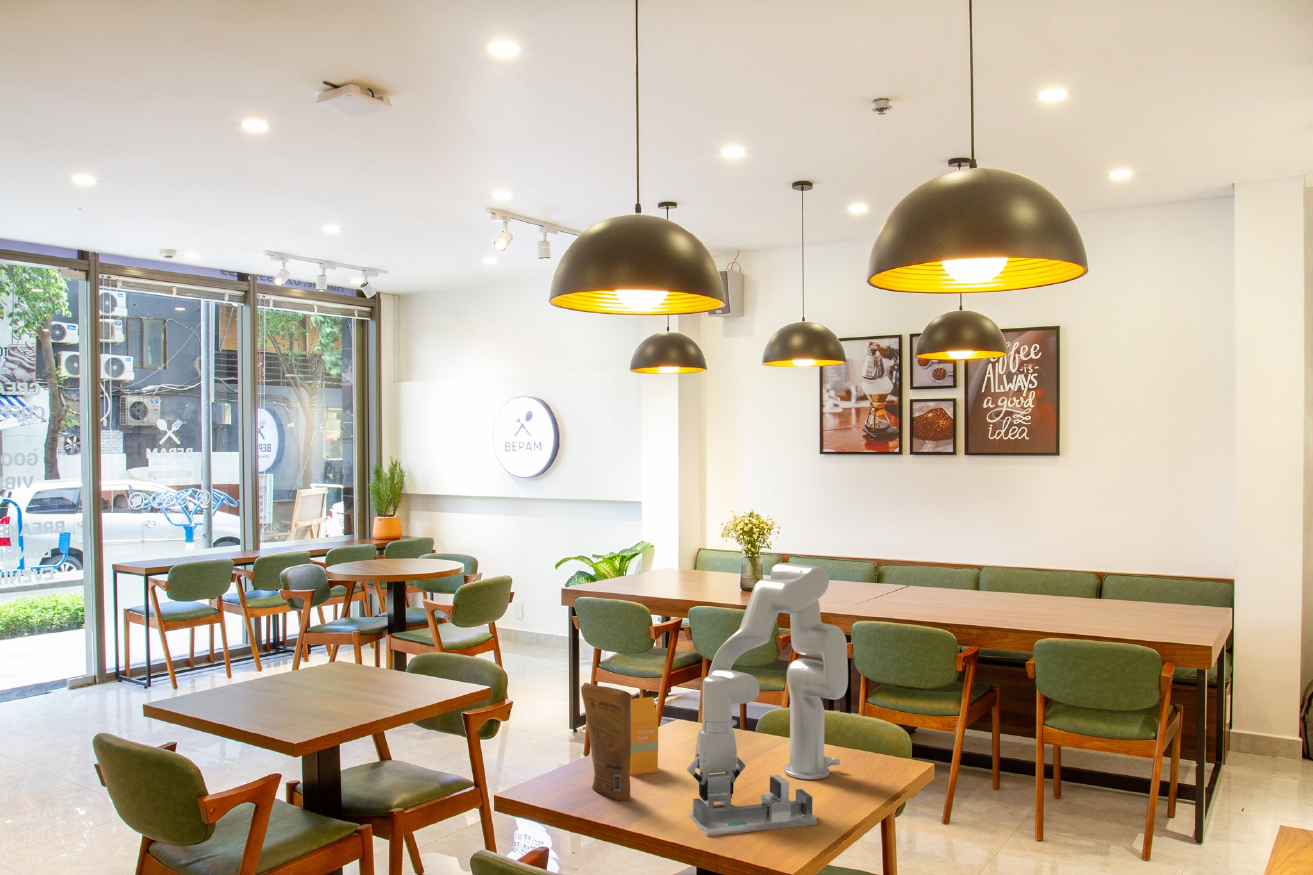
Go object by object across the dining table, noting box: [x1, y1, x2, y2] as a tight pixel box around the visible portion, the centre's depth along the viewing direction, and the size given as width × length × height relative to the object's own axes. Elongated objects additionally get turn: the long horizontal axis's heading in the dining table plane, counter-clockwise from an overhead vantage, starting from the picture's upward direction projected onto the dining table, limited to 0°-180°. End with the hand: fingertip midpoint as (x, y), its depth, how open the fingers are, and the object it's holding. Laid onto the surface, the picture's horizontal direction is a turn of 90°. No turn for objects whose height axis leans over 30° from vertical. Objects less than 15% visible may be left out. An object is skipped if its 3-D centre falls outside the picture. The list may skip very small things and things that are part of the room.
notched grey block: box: [701, 772, 732, 809], centre depth 237 cm, size 5×6×8 cm
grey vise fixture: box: [689, 774, 818, 837], centre depth 227 cm, size 29×12×10 cm, turn 107°
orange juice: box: [630, 696, 659, 776], centre depth 265 cm, size 8×9×20 cm
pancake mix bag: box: [580, 682, 633, 802], centre depth 245 cm, size 7×19×28 cm, turn 39°
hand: (716, 797), depth 237 cm, fingers closed on notched grey block, 6 cm apart
